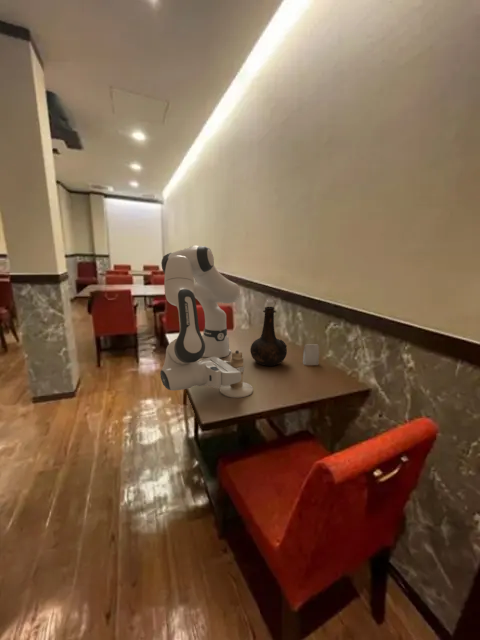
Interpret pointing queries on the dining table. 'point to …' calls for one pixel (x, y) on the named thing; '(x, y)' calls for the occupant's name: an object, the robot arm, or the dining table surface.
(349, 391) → the dining table surface
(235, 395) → the cream plate
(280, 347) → the glass bottle
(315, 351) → the white box
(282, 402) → the dining table surface
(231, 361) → the pepper mill
